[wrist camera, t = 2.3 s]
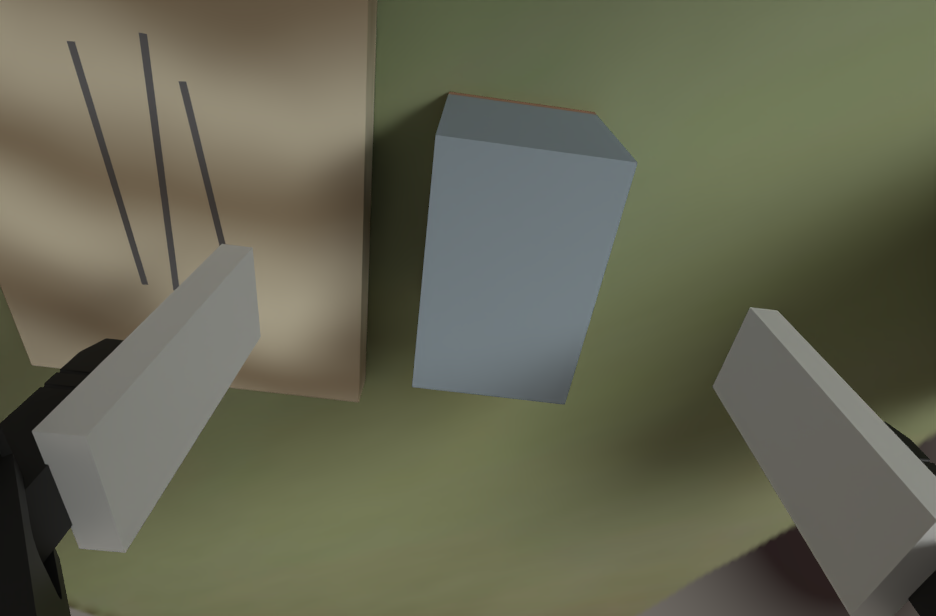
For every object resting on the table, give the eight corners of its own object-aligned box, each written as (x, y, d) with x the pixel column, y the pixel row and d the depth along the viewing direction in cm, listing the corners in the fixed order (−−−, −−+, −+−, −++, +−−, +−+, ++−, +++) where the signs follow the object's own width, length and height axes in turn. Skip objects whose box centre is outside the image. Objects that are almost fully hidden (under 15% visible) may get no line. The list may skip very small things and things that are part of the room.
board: (-151, -238, 14) (-216, -260, 13) (382, -152, 14) (372, -166, 13) (55, 344, 24) (31, 365, 22) (365, 380, 24) (358, 402, 23)
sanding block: (449, 91, 18) (435, 134, 13) (594, 111, 18) (637, 162, 13) (428, 293, 22) (412, 386, 17) (545, 307, 22) (564, 404, 17)
